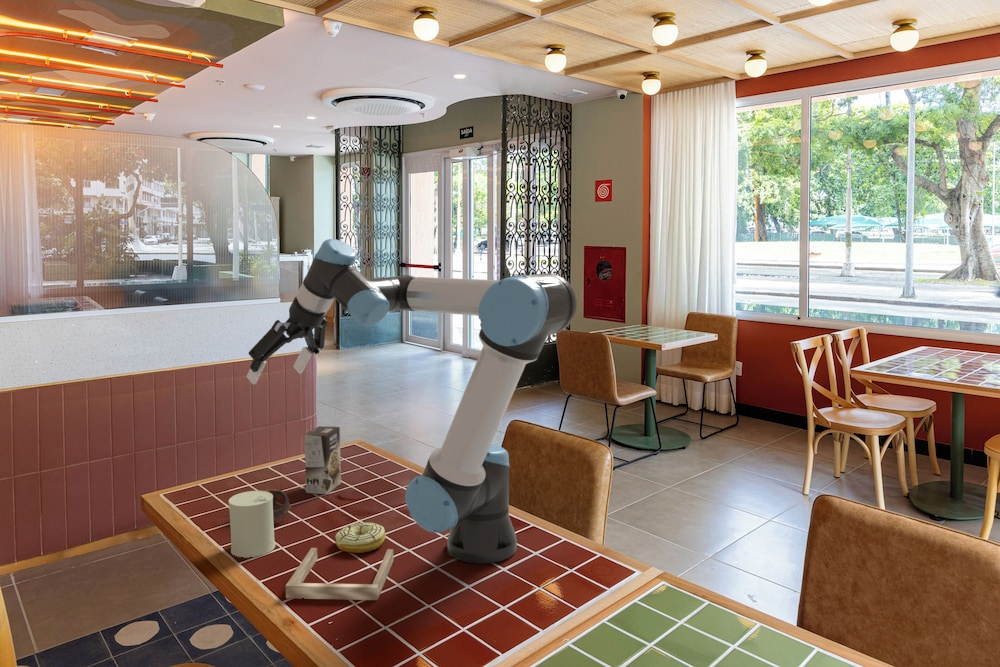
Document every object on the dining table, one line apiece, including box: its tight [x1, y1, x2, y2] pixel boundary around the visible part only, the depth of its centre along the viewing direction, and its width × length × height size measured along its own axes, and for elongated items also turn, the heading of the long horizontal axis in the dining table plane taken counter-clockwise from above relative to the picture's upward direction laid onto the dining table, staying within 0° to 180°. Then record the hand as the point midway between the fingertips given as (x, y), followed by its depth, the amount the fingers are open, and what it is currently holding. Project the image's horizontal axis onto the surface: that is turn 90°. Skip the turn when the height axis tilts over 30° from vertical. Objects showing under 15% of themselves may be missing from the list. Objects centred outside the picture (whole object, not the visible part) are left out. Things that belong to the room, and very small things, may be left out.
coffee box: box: [303, 425, 342, 495], centre depth 189 cm, size 9×6×16 cm
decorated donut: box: [335, 522, 386, 554], centre depth 156 cm, size 10×11×4 cm
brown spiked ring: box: [264, 488, 292, 522], centre depth 169 cm, size 12×10×8 cm
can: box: [228, 490, 276, 559], centre depth 153 cm, size 9×9×12 cm
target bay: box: [284, 547, 395, 601], centre depth 140 cm, size 17×16×2 cm
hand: (275, 375), depth 162 cm, fingers open, 13 cm apart
